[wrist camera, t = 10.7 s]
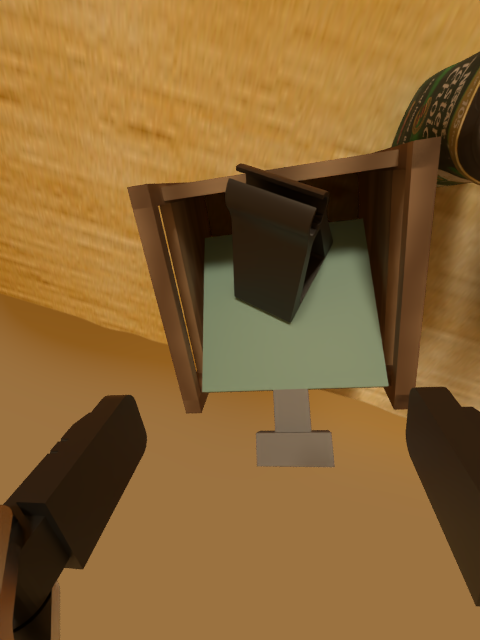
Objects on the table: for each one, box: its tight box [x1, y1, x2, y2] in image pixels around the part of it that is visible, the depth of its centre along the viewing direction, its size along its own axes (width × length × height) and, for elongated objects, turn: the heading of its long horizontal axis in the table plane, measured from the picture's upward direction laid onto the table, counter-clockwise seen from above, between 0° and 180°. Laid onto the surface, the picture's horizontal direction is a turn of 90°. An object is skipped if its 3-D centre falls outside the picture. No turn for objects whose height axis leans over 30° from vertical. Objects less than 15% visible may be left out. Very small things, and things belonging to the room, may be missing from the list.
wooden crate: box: [127, 136, 441, 413], centre depth 31 cm, size 20×20×16 cm
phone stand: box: [225, 164, 333, 323], centre depth 24 cm, size 9×6×12 cm
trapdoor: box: [202, 218, 389, 467], centre depth 29 cm, size 16×22×3 cm
